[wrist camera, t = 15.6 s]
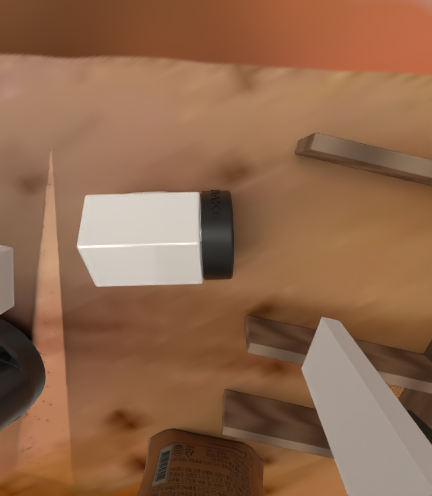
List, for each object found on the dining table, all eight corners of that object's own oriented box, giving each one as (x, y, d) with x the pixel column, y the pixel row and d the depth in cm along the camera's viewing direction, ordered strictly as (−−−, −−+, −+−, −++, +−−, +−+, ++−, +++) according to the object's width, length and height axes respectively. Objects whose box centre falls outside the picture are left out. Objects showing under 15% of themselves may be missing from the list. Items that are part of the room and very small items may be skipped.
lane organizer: (223, 396, 33) (222, 434, 28) (298, 140, 24) (315, 132, 19) (389, 432, 33) (416, 476, 29) (527, 194, 24) (600, 199, 19)
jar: (115, 194, 27) (227, 191, 27) (122, 268, 28) (228, 265, 28) (67, 191, 18) (233, 186, 18) (81, 298, 20) (235, 293, 20)
